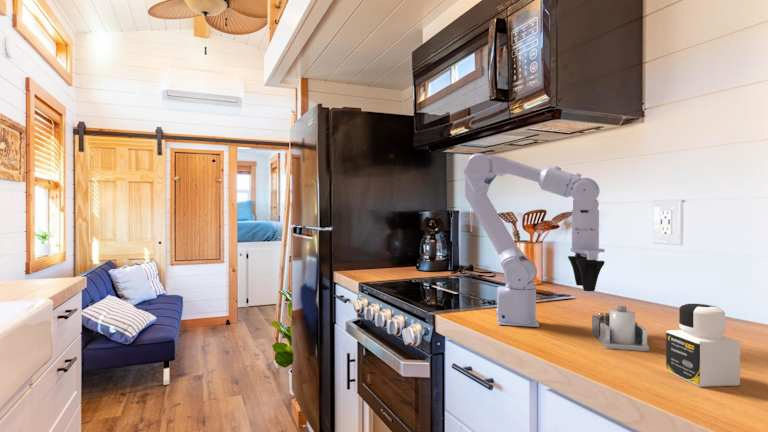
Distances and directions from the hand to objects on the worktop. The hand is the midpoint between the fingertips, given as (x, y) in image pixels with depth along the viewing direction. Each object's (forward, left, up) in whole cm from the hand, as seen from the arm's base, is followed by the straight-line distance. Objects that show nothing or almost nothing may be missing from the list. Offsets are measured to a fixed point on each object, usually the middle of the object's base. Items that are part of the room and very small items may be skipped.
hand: (585, 288), depth 99 cm
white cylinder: (+5, -11, -9) cm, 15 cm away
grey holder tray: (+5, -7, -10) cm, 13 cm away
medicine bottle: (+12, -27, -10) cm, 31 cm away
